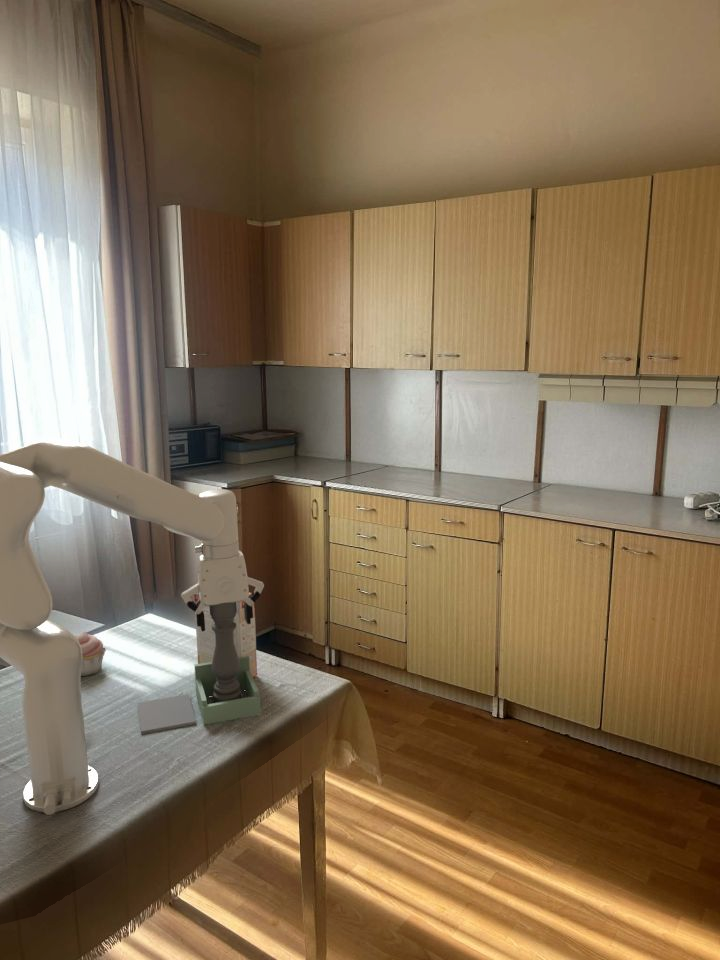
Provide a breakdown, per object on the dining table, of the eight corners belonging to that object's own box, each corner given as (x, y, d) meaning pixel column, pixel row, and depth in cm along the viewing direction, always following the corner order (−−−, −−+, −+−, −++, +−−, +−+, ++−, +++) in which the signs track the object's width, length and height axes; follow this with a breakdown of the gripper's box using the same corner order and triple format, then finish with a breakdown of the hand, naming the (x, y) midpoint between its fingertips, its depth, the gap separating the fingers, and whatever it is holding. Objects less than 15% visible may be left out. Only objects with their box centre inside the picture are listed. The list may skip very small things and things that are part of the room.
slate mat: (195, 724, 153) (195, 721, 153) (141, 734, 149) (140, 731, 149) (189, 696, 164) (188, 694, 164) (137, 705, 160) (137, 702, 160)
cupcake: (116, 668, 177) (113, 629, 175) (82, 683, 170) (78, 643, 167) (92, 657, 182) (89, 620, 180) (58, 672, 175) (54, 633, 173)
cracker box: (258, 675, 173) (255, 592, 168) (241, 686, 168) (237, 601, 163) (214, 661, 180) (210, 581, 176) (197, 670, 175) (192, 588, 171)
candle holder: (247, 705, 160) (243, 598, 154) (224, 716, 155) (219, 606, 150) (230, 695, 164) (225, 590, 158) (207, 706, 160) (201, 598, 154)
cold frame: (260, 714, 156) (259, 680, 154) (203, 725, 152) (201, 690, 150) (249, 688, 167) (248, 656, 165) (196, 697, 163) (194, 664, 162)
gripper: (180, 560, 146) (186, 639, 150) (265, 549, 151) (269, 625, 155) (176, 548, 153) (182, 624, 157) (257, 538, 158) (261, 612, 162)
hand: (225, 625), depth 156 cm, fingers open, 9 cm apart
